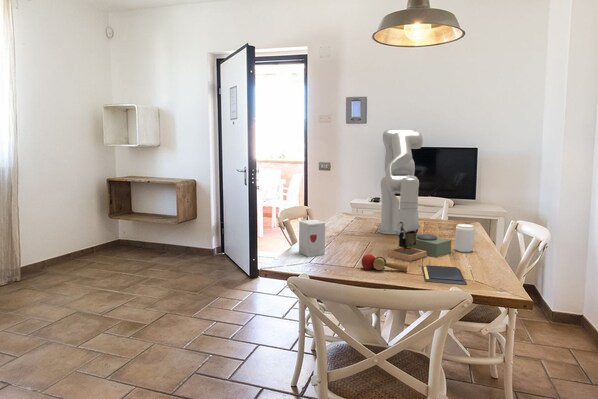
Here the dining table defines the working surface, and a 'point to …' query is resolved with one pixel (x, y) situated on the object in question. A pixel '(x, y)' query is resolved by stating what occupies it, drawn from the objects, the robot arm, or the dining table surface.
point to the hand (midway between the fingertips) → (407, 245)
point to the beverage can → (464, 238)
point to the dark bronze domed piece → (410, 239)
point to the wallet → (443, 275)
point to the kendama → (380, 263)
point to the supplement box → (312, 238)
